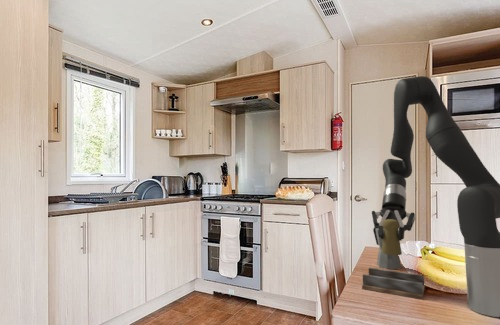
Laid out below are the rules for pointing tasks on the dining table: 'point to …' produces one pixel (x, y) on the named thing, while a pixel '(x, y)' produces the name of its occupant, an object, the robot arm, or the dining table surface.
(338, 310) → the dining table surface
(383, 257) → the coffeepot
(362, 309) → the dining table surface
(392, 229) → the olive waisted cylinder
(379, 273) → the walnut track
